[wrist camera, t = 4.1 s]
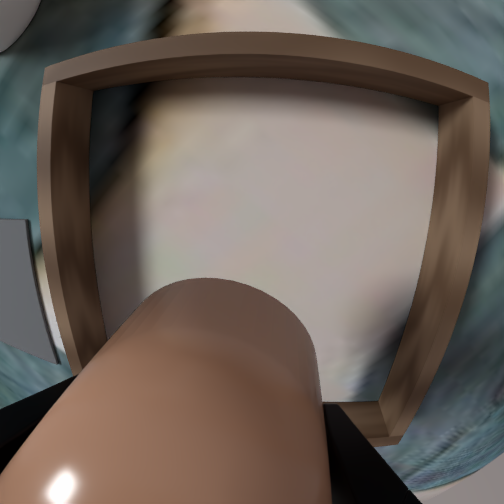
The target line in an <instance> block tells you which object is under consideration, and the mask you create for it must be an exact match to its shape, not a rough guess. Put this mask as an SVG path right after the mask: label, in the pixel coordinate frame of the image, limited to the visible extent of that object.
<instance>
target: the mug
mask: <svg viewBox="0 0 504 504" xmlns="http://www.w3.org/2000/svg"><path fill="white" fill-rule="evenodd" d="M40 1H41V0H0V52H2V51H4V50H6V49H7V48H8V47H10V46H11V45H12V44H13V43H14V42H15V41H16V40H17V39H18V38H19V37H20V36H21V34H22V33H23V32H24V30H25V29H26V28H27V26H28V25H29V23H30V22H31V20H32V18H33V17H34V15H35V13H36V11H37V9H38V7H39V4H40Z"/></svg>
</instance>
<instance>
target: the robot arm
mask: <svg viewBox="0 0 504 504" xmlns="http://www.w3.org/2000/svg"><path fill="white" fill-rule="evenodd" d="M79 374H80V373H79ZM79 374H77V375H75V376H73V377H71V378H69V379H67V380H64V381H62V382H60V383H58V384H56V385H54V386H51V387H49V388H47V389H45V390H43V391H40V392H38V393H36V394H34V395H31V396H29V397H27V398H25V399H22V400H20V401H18V402H15V403H13V404H11V405H9V406H6V407H4V408H2V409H0V474H1V473H2V472H3V470H4V469H5V468H6V466H7V465H8V463H9V462H10V461H11V459H12V458H13V457H14V455H15V454H16V453H17V451H18V450H19V449H20V447H21V446H22V445H23V443H24V442H25V441H26V439H27V438H28V437H29V435H30V434H31V433H32V432H33V430H34V429H35V428H36V426H37V425H38V424H39V423H40V421H41V420H42V419H43V418H44V416H45V415H46V414H47V413H48V411H49V410H50V409H51V408H52V406H53V405H54V404H55V403H56V401H57V400H58V399H59V398H60V396H61V395H62V394H63V393H64V392H65V390H66V389H67V388H68V387H69V386H70V384H71V383H72V382H73V381H74V380H75V378H76V377H77V376H78V375H79ZM323 412H324V420H325V429H326V438H327V448H328V458H329V469H330V481H331V493H332V504H422V503H421V502H420V501H419V500H418V499H417V497H416V496H415V495H414V494H413V493H412V492H411V491H410V490H408V487H407V486H406V485H405V484H404V483H403V481H402V480H401V479H400V478H399V477H398V476H397V474H396V473H395V472H394V471H393V470H392V469H391V467H390V466H389V465H388V464H387V463H386V461H385V460H384V459H383V458H382V457H381V455H380V454H379V453H378V452H377V451H376V450H375V448H374V447H373V446H372V445H371V444H370V442H369V441H368V440H367V439H366V437H365V436H364V435H363V434H362V433H361V431H360V430H359V429H358V428H357V427H356V425H355V424H354V423H353V422H352V420H351V419H350V418H349V417H348V416H347V414H346V413H345V412H344V411H343V409H342V408H341V407H340V406H339V405H338V404H337V403H324V404H323Z"/></svg>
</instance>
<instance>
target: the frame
mask: <svg viewBox="0 0 504 504" xmlns="http://www.w3.org/2000/svg"><path fill="white" fill-rule="evenodd" d="M206 77H264V78H284V79H297V80H308V81H317V82H326V83H334V84H341V85H347V86H354V87H360V88H365V89H371V90H376V91H381V92H386V93H390V94H395V95H399V96H403V97H407V98H411V99H415V100H419V101H423V102H426V103H430V104H433V105H437V106H439V125H438V151H437V165H436V177H435V187H434V195H433V203H432V211H431V217H430V224H429V230H428V236H427V241H426V246H425V252H424V256H423V261H422V266H421V270H420V275H419V279H418V283H417V287H416V291H415V295H414V299H413V303H412V306H411V310H410V313H409V317H408V320H407V323H406V327H405V330H404V333H403V336H402V339H401V342H400V345H399V348H398V351H397V354H396V357H395V360H394V363H393V365H392V368H391V371H390V373H389V376H388V379H387V381H386V384H385V386H384V389H383V391H382V393H381V396H380V398H379V401H371V402H322V403H323V404H324V403H337V404H338V405H339V406H340V407H341V408H342V409H343V411H344V412H345V413H346V414H347V416H348V417H349V418H350V419H351V420H352V422H353V423H354V424H355V425H356V427H357V428H358V429H359V430H360V431H361V433H362V434H363V435H364V436H365V437H366V439H367V440H368V441H369V442H370V444H371V445H372V446H373V447H379V446H388V445H397V444H398V443H399V442H400V440H401V438H402V437H403V435H404V433H405V432H406V430H407V428H408V427H409V425H410V423H411V421H412V420H413V418H414V416H415V414H416V412H417V410H418V409H419V407H420V405H421V403H422V401H423V399H424V397H425V395H426V393H427V391H428V389H429V387H430V385H431V383H432V381H433V378H434V376H435V374H436V372H437V370H438V367H439V365H440V363H441V360H442V358H443V356H444V353H445V351H446V348H447V346H448V343H449V341H450V338H451V335H452V333H453V330H454V327H455V325H456V322H457V319H458V316H459V313H460V310H461V307H462V304H463V300H464V297H465V294H466V290H467V287H468V283H469V280H470V276H471V272H472V268H473V264H474V260H475V255H476V251H477V246H478V241H479V236H480V231H481V225H482V220H483V213H484V206H485V199H486V191H487V181H488V169H489V153H490V103H489V87H488V83H487V82H485V81H483V80H481V79H479V78H476V77H474V76H472V75H469V74H467V73H464V72H462V71H459V70H457V69H454V68H451V67H449V66H446V65H443V64H440V63H437V62H434V61H431V60H428V59H425V58H422V57H419V56H415V55H412V54H408V53H405V52H401V51H397V50H393V49H389V48H385V47H381V46H376V45H372V44H367V43H362V42H356V41H351V40H345V39H338V38H332V37H324V36H316V35H306V34H295V33H279V32H217V33H202V34H190V35H180V36H172V37H165V38H158V39H151V40H145V41H140V42H135V43H129V44H125V45H120V46H116V47H111V48H107V49H103V50H99V51H95V52H92V53H88V54H85V55H81V56H78V57H75V58H71V59H68V60H65V61H62V62H59V63H56V64H54V65H51V66H48V67H45V72H44V78H43V85H42V92H41V101H40V111H39V123H38V141H37V189H38V207H39V220H40V230H41V239H42V247H43V254H44V261H45V267H46V273H47V278H48V284H49V289H50V294H51V298H52V303H53V307H54V312H55V316H56V320H57V324H58V327H59V331H60V335H61V338H62V342H63V345H64V348H65V352H66V355H67V358H68V361H69V364H70V367H71V370H72V373H73V376H75V375H77V374H79V373H80V372H81V371H82V370H83V369H84V368H85V367H86V365H87V364H88V363H89V362H90V361H91V360H92V358H93V357H94V356H95V355H96V354H97V353H98V351H99V350H100V349H101V348H102V347H103V346H104V345H105V343H106V342H107V337H106V332H105V327H104V322H103V317H102V311H101V306H100V300H99V293H98V287H97V280H96V272H95V264H94V255H93V245H92V234H91V219H90V199H89V143H90V123H91V109H92V98H93V91H96V90H101V89H107V88H112V87H118V86H124V85H131V84H138V83H145V82H154V81H163V80H174V79H187V78H206Z"/></svg>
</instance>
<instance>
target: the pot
mask: <svg viewBox="0 0 504 504" xmlns="http://www.w3.org/2000/svg"><path fill="white" fill-rule="evenodd" d="M0 504H332V493H331V481H330V469H329V458H328V448H327V438H326V429H325V420H324V412H323V403H322V395H321V387H320V380H319V372H318V365H317V358H316V353H315V348H314V345H313V342H312V340H311V337H310V335H309V333H308V332H307V330H306V328H305V327H304V325H303V324H302V323H301V321H300V320H299V319H298V318H297V316H296V315H295V314H294V313H293V312H292V311H290V310H289V309H288V308H287V307H286V306H285V305H284V304H282V303H281V302H279V301H278V300H277V299H275V298H274V297H272V296H270V295H268V294H267V293H265V292H263V291H261V290H259V289H256V288H254V287H251V286H249V285H246V284H242V283H239V282H235V281H231V280H225V279H218V278H195V279H187V280H182V281H178V282H174V283H172V284H169V285H167V286H164V287H162V288H160V289H159V290H157V291H155V292H154V293H152V294H151V295H150V296H149V297H147V298H146V299H145V300H144V301H143V302H142V303H141V304H140V306H139V307H138V308H137V309H136V310H135V311H134V312H133V313H132V314H131V315H130V317H129V318H128V319H127V320H126V321H125V322H124V323H123V324H122V325H121V327H120V328H119V329H118V330H117V331H116V332H115V333H114V334H113V336H112V337H111V338H110V339H109V340H108V341H107V342H106V343H105V345H104V346H103V347H102V348H101V349H100V350H99V351H98V353H97V354H96V355H95V356H94V357H93V358H92V360H91V361H90V362H89V363H88V364H87V365H86V367H85V368H84V369H83V370H82V371H81V372H80V374H79V375H78V376H77V377H76V378H75V380H74V381H73V382H72V383H71V384H70V386H69V387H68V388H67V389H66V390H65V392H64V393H63V394H62V395H61V396H60V398H59V399H58V400H57V401H56V403H55V404H54V405H53V406H52V408H51V409H50V410H49V411H48V413H47V414H46V415H45V416H44V418H43V419H42V420H41V421H40V423H39V424H38V425H37V426H36V428H35V429H34V430H33V432H32V433H31V434H30V435H29V437H28V438H27V439H26V441H25V442H24V443H23V445H22V446H21V447H20V449H19V450H18V451H17V453H16V454H15V455H14V457H13V458H12V459H11V461H10V462H9V463H8V465H7V466H6V468H5V469H4V470H3V472H2V473H1V474H0Z"/></svg>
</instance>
